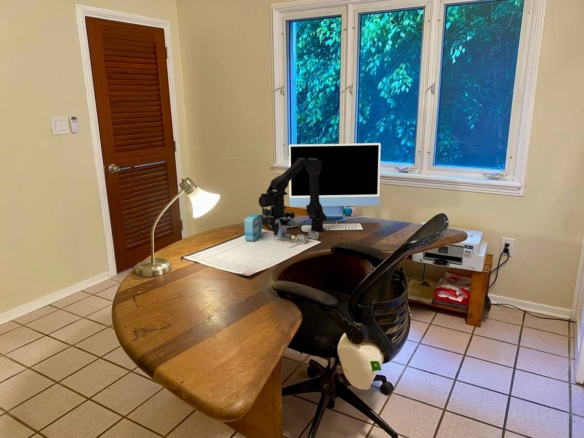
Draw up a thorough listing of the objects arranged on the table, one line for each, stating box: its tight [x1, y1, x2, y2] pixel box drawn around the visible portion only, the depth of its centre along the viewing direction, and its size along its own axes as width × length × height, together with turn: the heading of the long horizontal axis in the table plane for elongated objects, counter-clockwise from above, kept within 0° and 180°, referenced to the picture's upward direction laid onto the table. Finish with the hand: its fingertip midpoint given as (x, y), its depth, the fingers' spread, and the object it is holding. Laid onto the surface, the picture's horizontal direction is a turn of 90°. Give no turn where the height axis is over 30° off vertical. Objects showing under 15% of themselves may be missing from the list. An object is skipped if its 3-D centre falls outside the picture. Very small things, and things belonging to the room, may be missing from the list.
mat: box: [269, 237, 303, 249], centre depth 218 cm, size 9×14×1 cm, turn 48°
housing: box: [296, 229, 320, 245], centre depth 221 cm, size 12×5×4 cm, turn 138°
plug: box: [273, 223, 297, 241], centre depth 217 cm, size 4×13×6 cm, turn 47°
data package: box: [244, 213, 263, 242], centre depth 224 cm, size 12×4×12 cm, turn 162°
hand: (279, 234), depth 220 cm, fingers closed on plug, 4 cm apart
